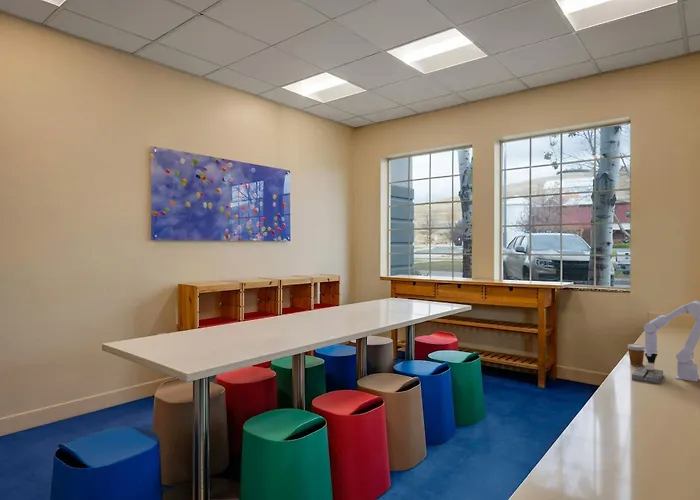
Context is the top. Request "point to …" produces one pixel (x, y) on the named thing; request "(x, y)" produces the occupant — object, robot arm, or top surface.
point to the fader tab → (649, 366)
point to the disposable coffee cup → (636, 354)
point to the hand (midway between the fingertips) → (651, 366)
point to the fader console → (647, 375)
